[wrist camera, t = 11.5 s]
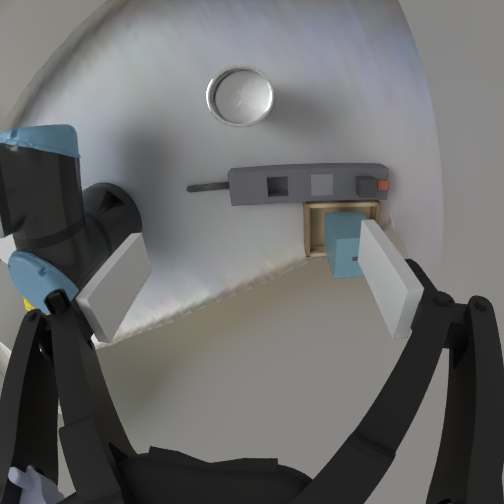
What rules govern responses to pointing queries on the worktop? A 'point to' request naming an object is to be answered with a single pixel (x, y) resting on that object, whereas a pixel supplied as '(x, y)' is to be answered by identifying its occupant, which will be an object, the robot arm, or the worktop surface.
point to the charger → (343, 243)
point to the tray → (316, 216)
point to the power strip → (303, 183)
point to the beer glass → (240, 96)
